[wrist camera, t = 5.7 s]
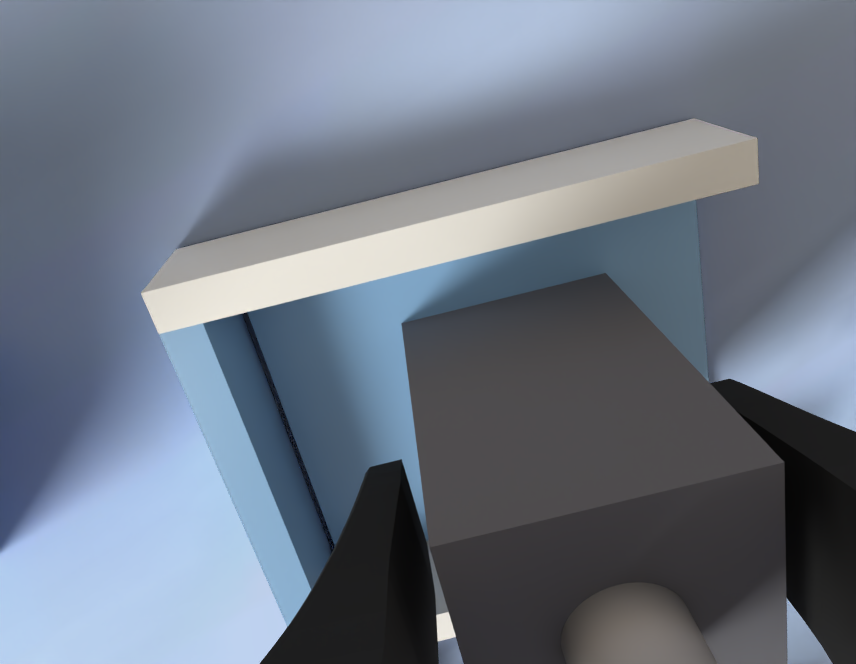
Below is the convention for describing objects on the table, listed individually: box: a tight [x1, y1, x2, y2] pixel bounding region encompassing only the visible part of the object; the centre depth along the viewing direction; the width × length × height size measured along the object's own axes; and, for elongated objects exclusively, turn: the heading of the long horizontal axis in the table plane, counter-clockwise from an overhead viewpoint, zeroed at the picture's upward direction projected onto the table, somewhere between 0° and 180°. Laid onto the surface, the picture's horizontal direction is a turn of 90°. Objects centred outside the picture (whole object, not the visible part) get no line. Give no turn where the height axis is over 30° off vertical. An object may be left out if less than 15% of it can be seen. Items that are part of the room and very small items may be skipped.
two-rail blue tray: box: [141, 118, 759, 641], centre depth 17 cm, size 18×11×2 cm, turn 13°
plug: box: [401, 273, 787, 664], centre depth 12 cm, size 4×4×8 cm
